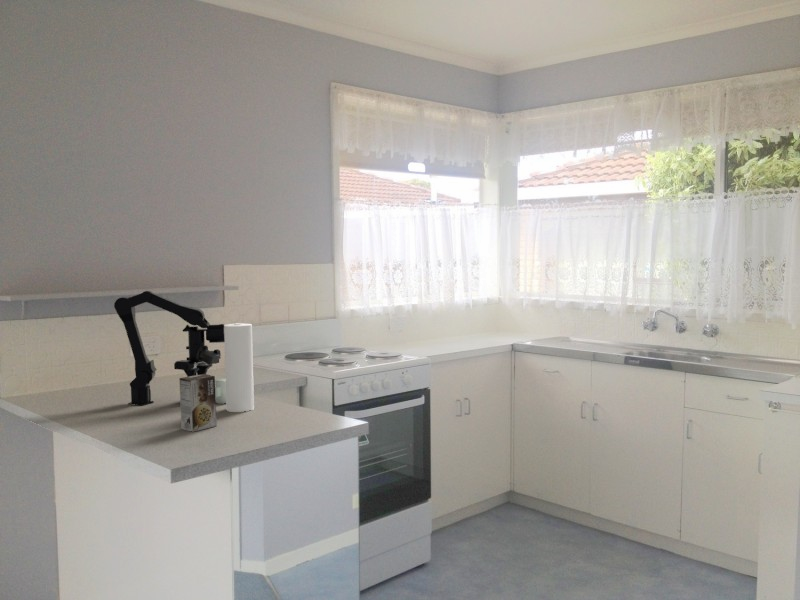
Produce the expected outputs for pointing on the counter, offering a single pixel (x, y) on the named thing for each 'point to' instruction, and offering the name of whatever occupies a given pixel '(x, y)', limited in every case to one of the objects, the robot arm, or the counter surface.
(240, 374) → the paper towel roll
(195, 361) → the robot arm
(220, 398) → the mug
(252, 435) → the counter surface
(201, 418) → the cookie box
